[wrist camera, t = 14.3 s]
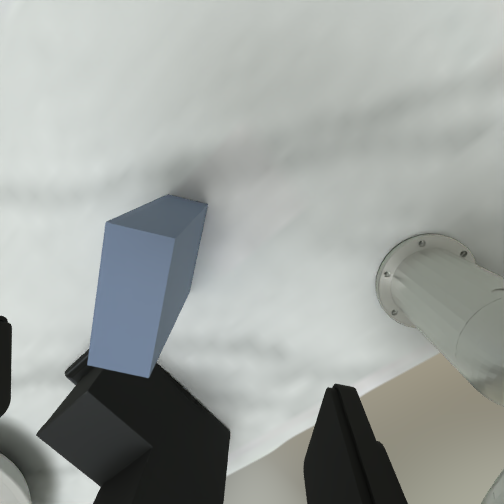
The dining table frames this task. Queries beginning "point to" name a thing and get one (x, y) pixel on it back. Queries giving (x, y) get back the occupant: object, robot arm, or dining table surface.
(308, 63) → the dining table surface
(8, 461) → the soup bowl
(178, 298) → the book
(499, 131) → the dining table surface
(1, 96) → the dining table surface
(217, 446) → the black drawer cabinet
